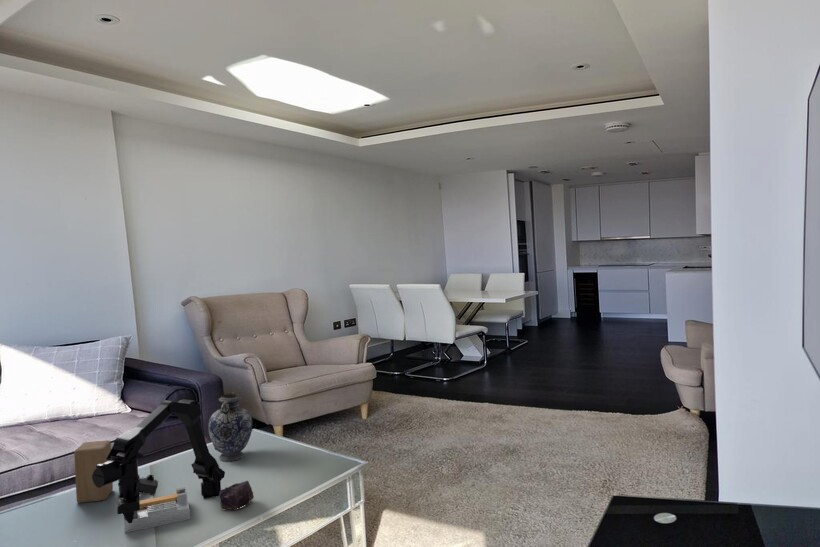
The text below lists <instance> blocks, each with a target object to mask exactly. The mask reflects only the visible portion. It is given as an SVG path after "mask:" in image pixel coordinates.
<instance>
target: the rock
mask: <svg viewBox="0 0 820 547" xmlns="http://www.w3.org/2000/svg"><path fill="white" fill-rule="evenodd" d="M218 497H219V499H220V507H221V509H222V510H223V509H227V510H232V509H237V508H240V507H242V506H244V505H246V506H248V505H250V502H251V501H252V500H253V499H254V498H255V496H254V491H253V488H252V487H251V484H250V482H249V481H248V480H245V481H242V482H239V483H233V484H232V485H230V486H228V487H225V488H224V489H221V491H220V492H219V496H218ZM247 504H248V505H247Z"/></svg>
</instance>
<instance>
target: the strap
mask: <svg viewBox="0 0 820 547" xmlns="http://www.w3.org/2000/svg"><path fill="white" fill-rule="evenodd" d="M181 493H182V492H181ZM181 493H178V494H181ZM174 500H177V494H176V493H173V494H169V495H162V496H159V497H158V496H157V497H152V498H147V499H141V500H140V507H143V506H148V505H153V504H158V503H163V502H168V501H174Z"/></svg>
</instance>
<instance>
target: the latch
mask: <svg viewBox="0 0 820 547" xmlns="http://www.w3.org/2000/svg"><path fill="white" fill-rule="evenodd" d="M137 517H138V511H134V516H133V518H137ZM124 520H126V518H125V517H124V516H123V521H124Z"/></svg>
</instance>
